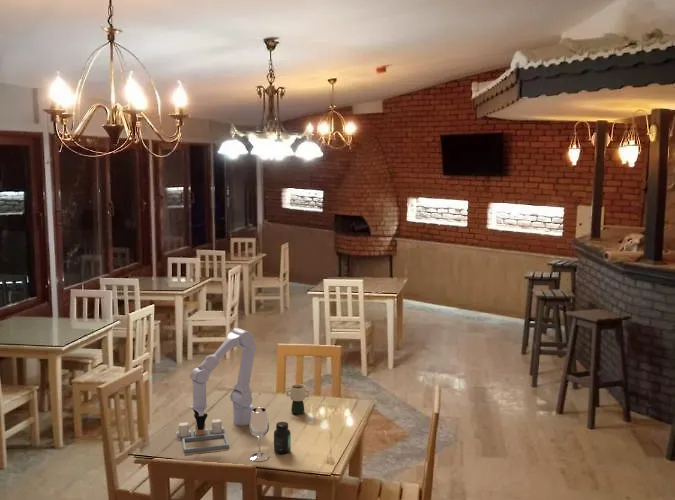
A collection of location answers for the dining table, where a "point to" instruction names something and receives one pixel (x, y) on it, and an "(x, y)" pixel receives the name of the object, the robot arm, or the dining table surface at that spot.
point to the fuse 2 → (216, 426)
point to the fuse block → (193, 434)
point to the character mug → (297, 397)
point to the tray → (205, 446)
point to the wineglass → (259, 430)
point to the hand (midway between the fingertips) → (200, 426)
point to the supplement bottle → (282, 439)
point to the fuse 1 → (183, 429)
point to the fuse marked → (199, 432)
